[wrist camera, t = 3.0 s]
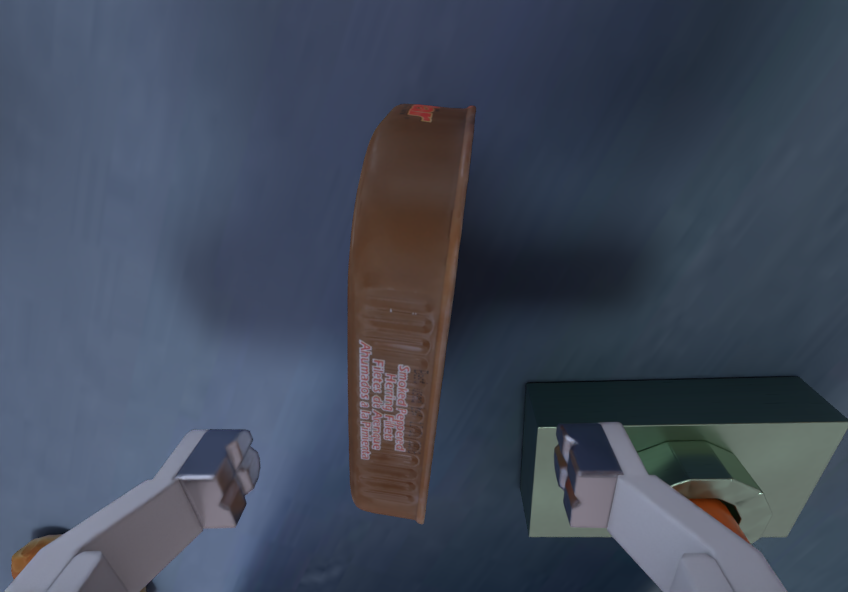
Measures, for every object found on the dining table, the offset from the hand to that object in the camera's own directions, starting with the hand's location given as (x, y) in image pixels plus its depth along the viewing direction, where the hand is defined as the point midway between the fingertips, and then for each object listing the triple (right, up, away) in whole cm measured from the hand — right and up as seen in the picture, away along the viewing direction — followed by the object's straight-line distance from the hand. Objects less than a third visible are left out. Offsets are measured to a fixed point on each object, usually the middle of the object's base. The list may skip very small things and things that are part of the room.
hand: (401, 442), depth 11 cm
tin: (0, +5, +8) cm, 9 cm away
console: (+13, -4, +11) cm, 17 cm away
